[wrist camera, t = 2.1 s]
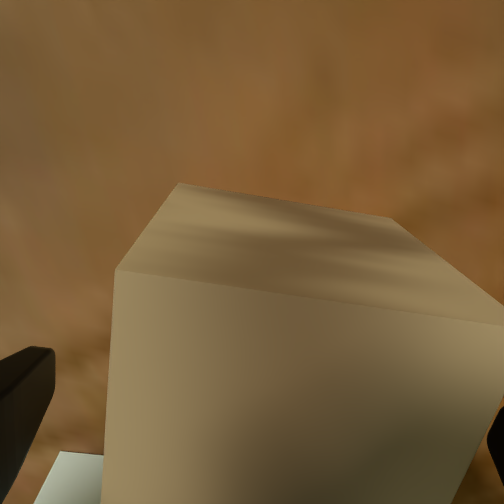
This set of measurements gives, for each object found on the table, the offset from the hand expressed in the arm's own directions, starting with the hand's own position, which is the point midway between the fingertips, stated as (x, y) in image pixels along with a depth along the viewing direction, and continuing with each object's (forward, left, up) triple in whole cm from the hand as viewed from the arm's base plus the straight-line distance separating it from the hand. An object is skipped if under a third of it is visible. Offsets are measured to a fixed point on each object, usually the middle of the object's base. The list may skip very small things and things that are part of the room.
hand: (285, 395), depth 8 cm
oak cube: (0, 0, -4) cm, 5 cm away
